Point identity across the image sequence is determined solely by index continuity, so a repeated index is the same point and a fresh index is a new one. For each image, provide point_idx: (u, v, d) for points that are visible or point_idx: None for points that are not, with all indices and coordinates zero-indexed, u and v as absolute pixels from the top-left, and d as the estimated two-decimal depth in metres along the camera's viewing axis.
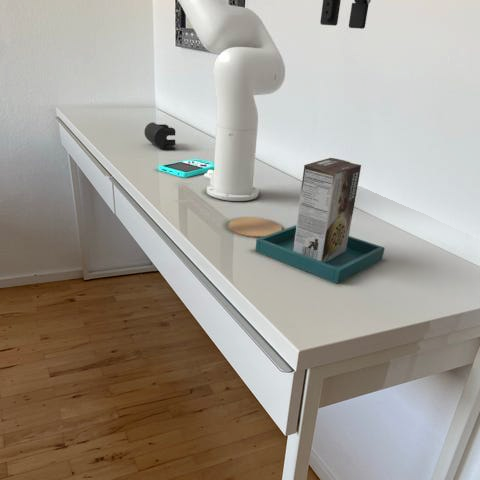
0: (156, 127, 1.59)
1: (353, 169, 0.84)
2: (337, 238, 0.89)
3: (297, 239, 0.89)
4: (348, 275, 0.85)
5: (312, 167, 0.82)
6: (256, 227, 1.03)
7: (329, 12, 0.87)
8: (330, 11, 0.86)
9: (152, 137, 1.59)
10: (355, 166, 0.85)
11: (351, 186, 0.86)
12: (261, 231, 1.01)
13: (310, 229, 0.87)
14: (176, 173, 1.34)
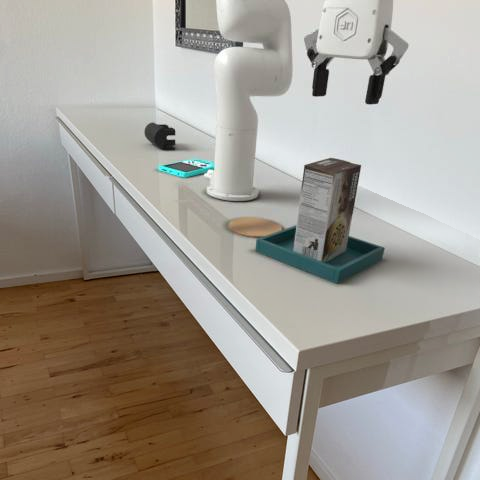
0: (156, 127, 1.59)
1: (353, 169, 0.84)
2: (337, 238, 0.89)
3: (297, 239, 0.89)
4: (348, 275, 0.85)
5: (312, 167, 0.82)
6: (256, 227, 1.03)
7: (381, 91, 0.76)
8: (381, 90, 0.76)
9: (152, 137, 1.59)
10: (355, 166, 0.85)
11: (351, 186, 0.86)
12: (261, 231, 1.01)
13: (310, 229, 0.87)
14: (176, 173, 1.34)
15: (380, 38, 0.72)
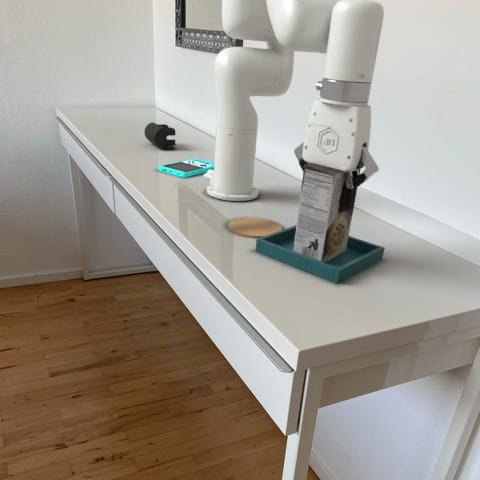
0: (156, 127, 1.59)
1: None
2: (337, 238, 0.89)
3: (297, 239, 0.89)
4: (348, 275, 0.85)
5: (312, 167, 0.82)
6: (256, 227, 1.03)
7: (353, 200, 0.85)
8: (354, 199, 0.85)
9: (152, 137, 1.59)
10: None
11: None
12: (261, 231, 1.01)
13: (310, 229, 0.87)
14: (176, 173, 1.34)
15: (359, 155, 0.80)
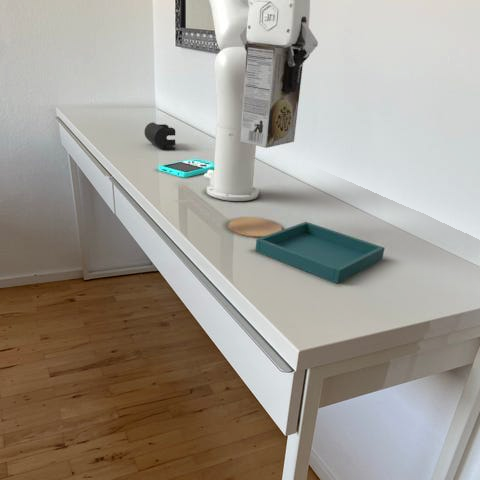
0: (156, 127, 1.59)
1: None
2: (282, 123, 0.91)
3: (243, 124, 0.91)
4: (348, 275, 0.85)
5: (254, 44, 0.84)
6: (256, 227, 1.03)
7: (296, 80, 0.87)
8: (297, 79, 0.87)
9: (152, 137, 1.59)
10: None
11: None
12: (261, 231, 1.01)
13: (255, 111, 0.89)
14: (176, 173, 1.34)
15: (298, 29, 0.81)
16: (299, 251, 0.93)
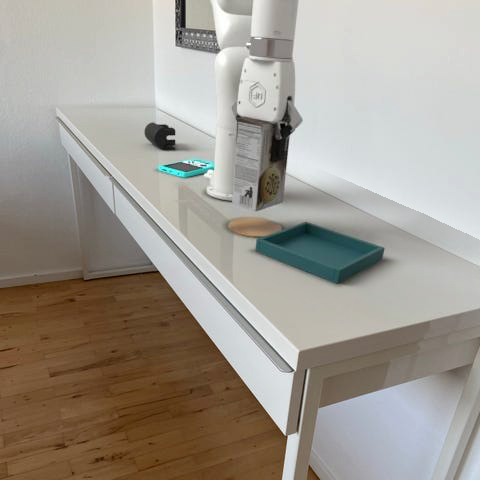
0: (156, 127, 1.59)
1: None
2: (271, 188, 0.97)
3: (235, 188, 0.98)
4: (348, 275, 0.85)
5: (244, 119, 0.91)
6: (256, 227, 1.03)
7: (283, 151, 0.93)
8: (284, 150, 0.93)
9: (152, 137, 1.59)
10: None
11: None
12: (261, 231, 1.01)
13: (245, 178, 0.95)
14: (176, 173, 1.34)
15: (284, 107, 0.88)
16: (299, 251, 0.93)
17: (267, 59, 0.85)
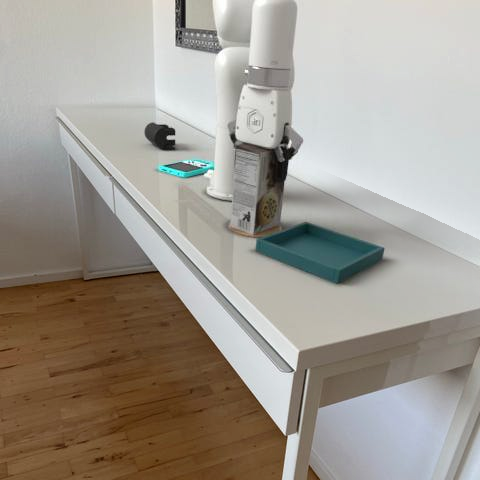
0: (156, 127, 1.59)
1: None
2: (268, 212, 1.00)
3: (233, 212, 1.00)
4: (348, 275, 0.85)
5: (242, 147, 0.93)
6: None
7: (286, 172, 0.95)
8: (286, 171, 0.95)
9: (152, 137, 1.59)
10: None
11: None
12: None
13: (243, 203, 0.97)
14: (176, 173, 1.34)
15: (281, 134, 0.90)
16: (299, 251, 0.93)
17: (264, 88, 0.87)
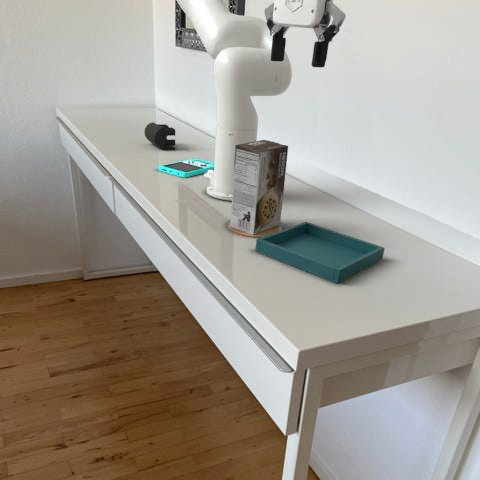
0: (156, 127, 1.59)
1: (279, 149, 0.95)
2: (268, 212, 1.00)
3: (233, 212, 1.00)
4: (348, 275, 0.85)
5: (242, 147, 0.93)
6: None
7: (325, 56, 0.90)
8: (326, 55, 0.90)
9: (152, 137, 1.59)
10: (282, 146, 0.96)
11: (278, 165, 0.96)
12: None
13: (243, 203, 0.97)
14: (176, 173, 1.34)
15: (322, 9, 0.85)
16: (299, 251, 0.93)
17: None
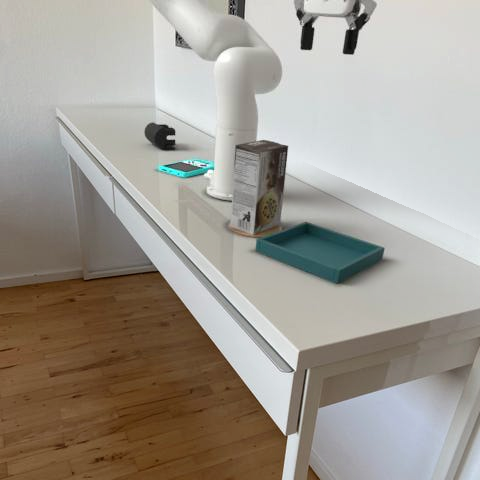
0: (156, 127, 1.59)
1: (279, 149, 0.95)
2: (268, 212, 1.00)
3: (233, 212, 1.00)
4: (348, 275, 0.85)
5: (242, 147, 0.93)
6: None
7: (355, 43, 0.94)
8: (356, 42, 0.94)
9: (152, 137, 1.59)
10: (282, 146, 0.96)
11: (278, 165, 0.96)
12: None
13: (243, 203, 0.97)
14: (176, 173, 1.34)
15: None
16: (299, 251, 0.93)
17: None
